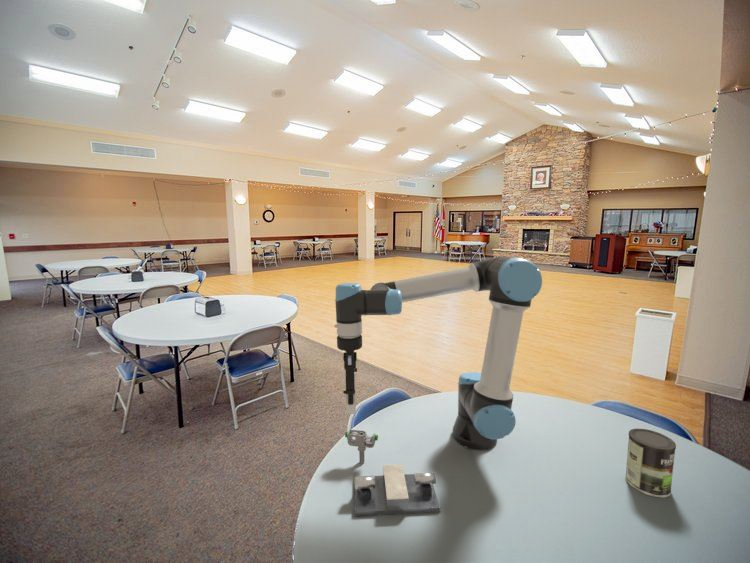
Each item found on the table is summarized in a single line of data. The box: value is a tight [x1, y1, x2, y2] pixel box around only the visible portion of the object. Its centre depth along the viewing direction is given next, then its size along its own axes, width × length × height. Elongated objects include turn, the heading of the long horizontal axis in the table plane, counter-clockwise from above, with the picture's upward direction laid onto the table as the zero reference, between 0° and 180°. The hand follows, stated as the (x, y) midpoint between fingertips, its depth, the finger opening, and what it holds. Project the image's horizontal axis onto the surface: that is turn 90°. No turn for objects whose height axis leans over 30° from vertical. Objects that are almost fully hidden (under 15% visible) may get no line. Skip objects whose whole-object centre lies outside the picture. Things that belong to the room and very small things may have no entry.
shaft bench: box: [354, 463, 441, 517], centre depth 94 cm, size 22×13×6 cm, turn 93°
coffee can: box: [624, 428, 677, 499], centre depth 96 cm, size 10×10×14 cm
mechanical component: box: [344, 428, 379, 465], centre depth 107 cm, size 3×10×10 cm, turn 79°
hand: (351, 402), depth 104 cm, fingers open, 13 cm apart
